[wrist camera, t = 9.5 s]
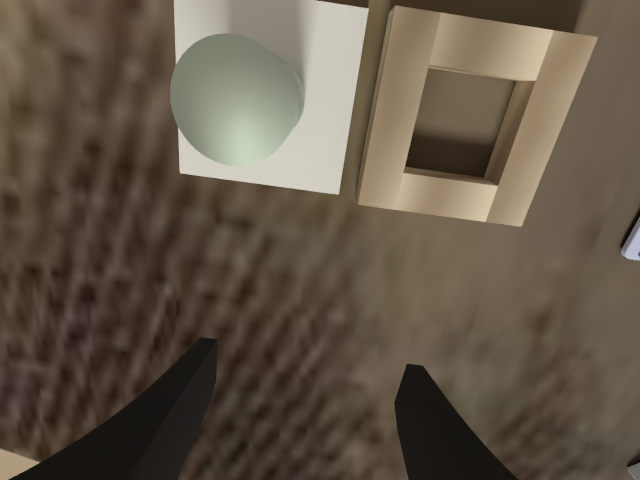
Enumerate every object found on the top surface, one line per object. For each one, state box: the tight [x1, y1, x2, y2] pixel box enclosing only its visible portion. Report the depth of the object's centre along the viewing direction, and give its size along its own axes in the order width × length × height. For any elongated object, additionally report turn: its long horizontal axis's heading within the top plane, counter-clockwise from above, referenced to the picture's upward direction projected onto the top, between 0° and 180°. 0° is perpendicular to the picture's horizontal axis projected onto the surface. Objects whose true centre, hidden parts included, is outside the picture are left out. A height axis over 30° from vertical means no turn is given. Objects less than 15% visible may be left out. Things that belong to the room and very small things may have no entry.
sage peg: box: [170, 33, 305, 166], centre depth 14 cm, size 4×4×7 cm
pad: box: [174, 0, 369, 195], centre depth 18 cm, size 9×9×1 cm
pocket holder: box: [355, 5, 598, 227], centre depth 17 cm, size 9×9×2 cm
